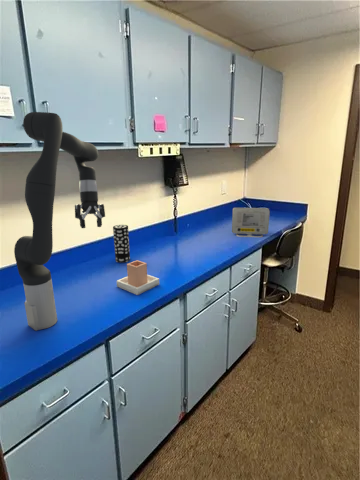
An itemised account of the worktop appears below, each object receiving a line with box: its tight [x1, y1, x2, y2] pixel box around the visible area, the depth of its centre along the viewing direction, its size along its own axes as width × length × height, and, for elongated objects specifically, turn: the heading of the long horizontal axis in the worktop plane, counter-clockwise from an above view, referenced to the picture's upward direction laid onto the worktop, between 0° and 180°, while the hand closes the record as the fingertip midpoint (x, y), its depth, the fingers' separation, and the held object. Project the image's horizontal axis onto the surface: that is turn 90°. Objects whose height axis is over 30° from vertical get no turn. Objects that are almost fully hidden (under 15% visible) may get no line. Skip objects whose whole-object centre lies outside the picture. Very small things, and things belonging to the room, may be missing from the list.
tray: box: [116, 274, 160, 296], centre depth 144 cm, size 14×14×3 cm
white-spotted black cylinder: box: [112, 224, 131, 264], centre depth 174 cm, size 8×8×20 cm
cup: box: [126, 259, 148, 287], centre depth 142 cm, size 6×6×10 cm
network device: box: [231, 207, 271, 238], centre depth 220 cm, size 26×9×20 cm, turn 82°
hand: (91, 227), depth 137 cm, fingers open, 8 cm apart
